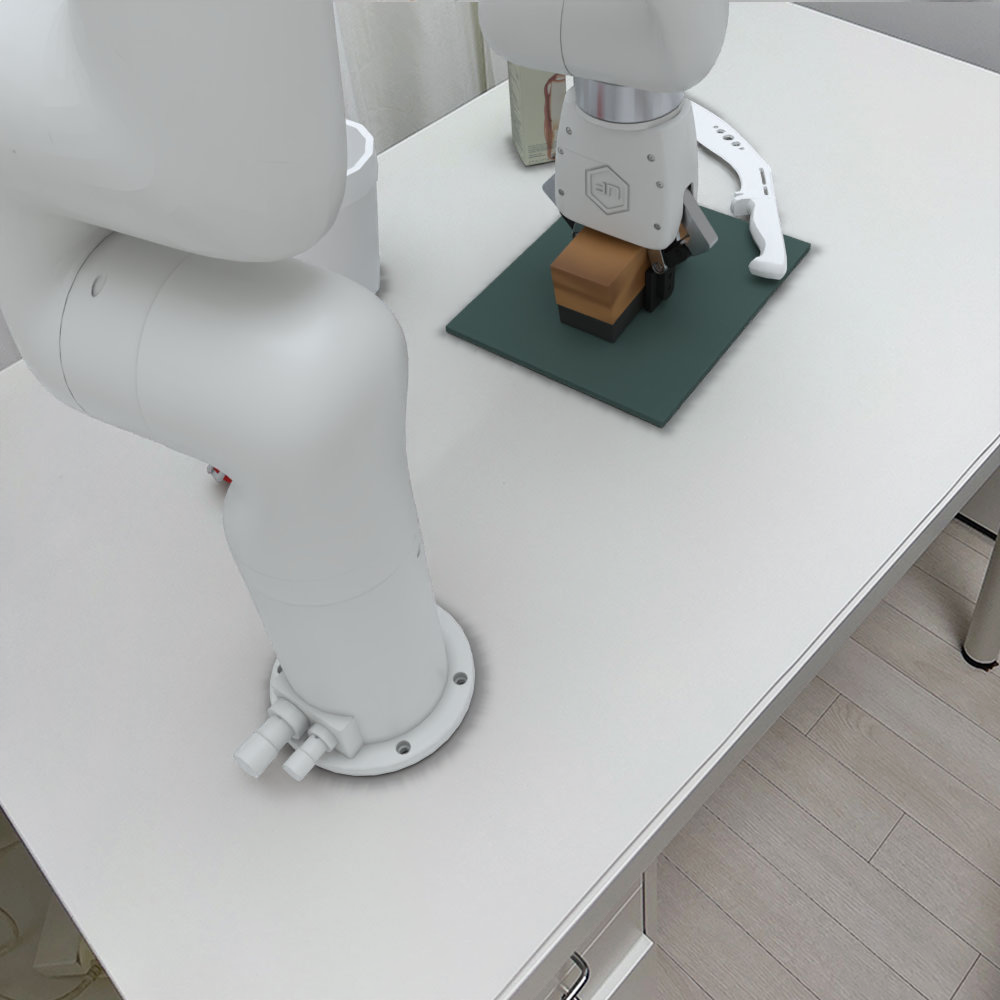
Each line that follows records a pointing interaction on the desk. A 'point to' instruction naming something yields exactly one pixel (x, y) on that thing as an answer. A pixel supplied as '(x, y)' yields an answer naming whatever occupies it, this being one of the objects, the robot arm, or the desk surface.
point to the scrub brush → (600, 282)
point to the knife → (748, 191)
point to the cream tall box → (535, 111)
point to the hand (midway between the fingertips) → (625, 286)
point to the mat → (647, 338)
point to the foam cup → (354, 217)
